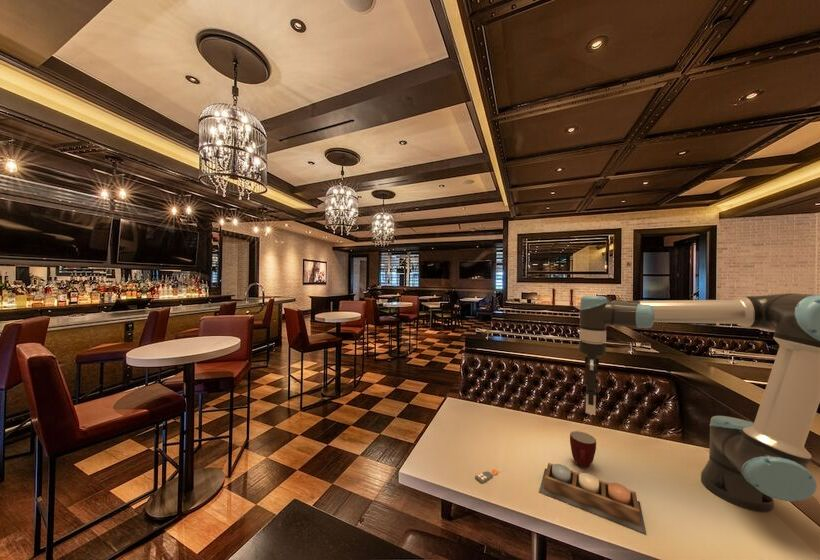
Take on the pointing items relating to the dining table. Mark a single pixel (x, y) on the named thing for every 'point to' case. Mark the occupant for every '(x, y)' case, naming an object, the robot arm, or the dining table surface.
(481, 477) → the key chain
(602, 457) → the dining table surface
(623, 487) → the brown oval piece
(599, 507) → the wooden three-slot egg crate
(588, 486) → the cream egg
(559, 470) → the slate egg
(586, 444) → the mug
